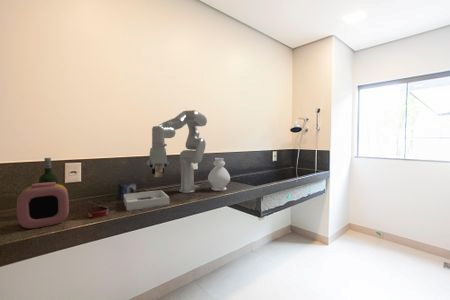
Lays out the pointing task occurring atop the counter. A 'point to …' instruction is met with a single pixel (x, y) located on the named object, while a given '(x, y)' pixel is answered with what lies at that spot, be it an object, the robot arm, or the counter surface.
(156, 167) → the plug
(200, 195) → the counter surface
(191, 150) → the robot arm
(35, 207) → the alarm clock
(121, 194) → the small box
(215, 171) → the decorative vase
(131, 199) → the walled box
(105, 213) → the canned food
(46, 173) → the wine bottle
